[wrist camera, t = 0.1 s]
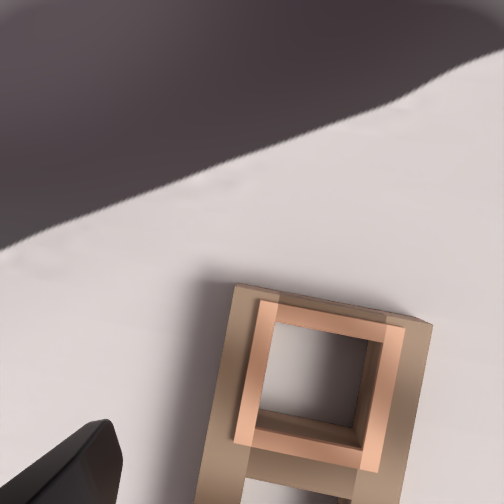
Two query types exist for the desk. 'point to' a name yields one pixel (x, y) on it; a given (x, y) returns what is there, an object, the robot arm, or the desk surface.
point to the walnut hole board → (306, 430)
